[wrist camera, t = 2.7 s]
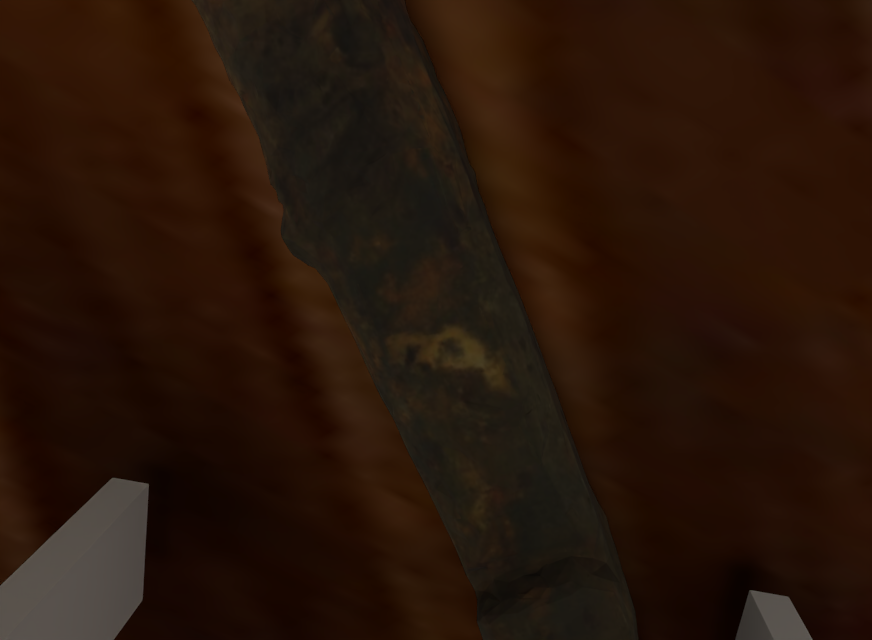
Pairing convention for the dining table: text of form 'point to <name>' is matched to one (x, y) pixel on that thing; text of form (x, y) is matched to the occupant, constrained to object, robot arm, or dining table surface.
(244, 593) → the dining table surface
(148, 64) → the dining table surface
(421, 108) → the hand tool
